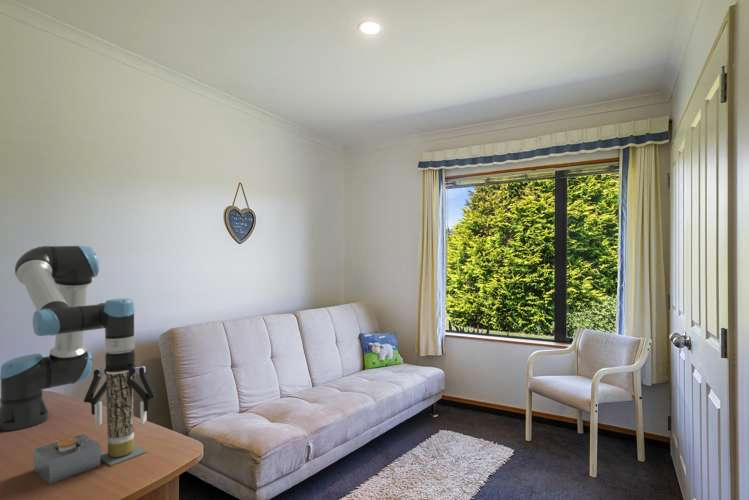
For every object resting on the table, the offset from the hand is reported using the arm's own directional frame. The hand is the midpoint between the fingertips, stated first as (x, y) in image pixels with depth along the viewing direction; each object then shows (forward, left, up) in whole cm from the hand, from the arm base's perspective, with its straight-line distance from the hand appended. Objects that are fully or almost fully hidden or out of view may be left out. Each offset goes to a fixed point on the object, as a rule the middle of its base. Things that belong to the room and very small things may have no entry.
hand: (121, 423), depth 129 cm
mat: (0, 0, -9) cm, 9 cm away
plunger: (-4, -13, -8) cm, 16 cm away
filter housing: (-4, -12, -9) cm, 16 cm away
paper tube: (0, 0, -9) cm, 9 cm away
